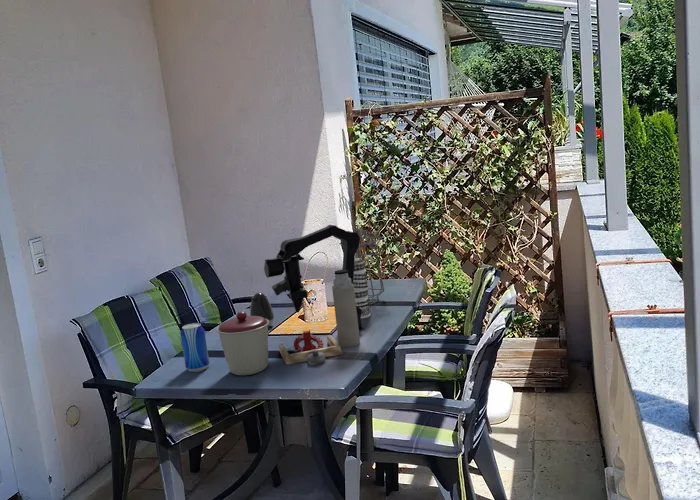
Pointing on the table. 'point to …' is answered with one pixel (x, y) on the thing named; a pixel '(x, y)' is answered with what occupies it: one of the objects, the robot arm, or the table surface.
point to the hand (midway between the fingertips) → (297, 312)
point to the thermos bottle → (345, 309)
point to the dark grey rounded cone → (261, 307)
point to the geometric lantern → (370, 258)
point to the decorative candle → (361, 288)
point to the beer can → (194, 347)
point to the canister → (245, 343)
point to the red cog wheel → (307, 342)
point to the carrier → (312, 353)
